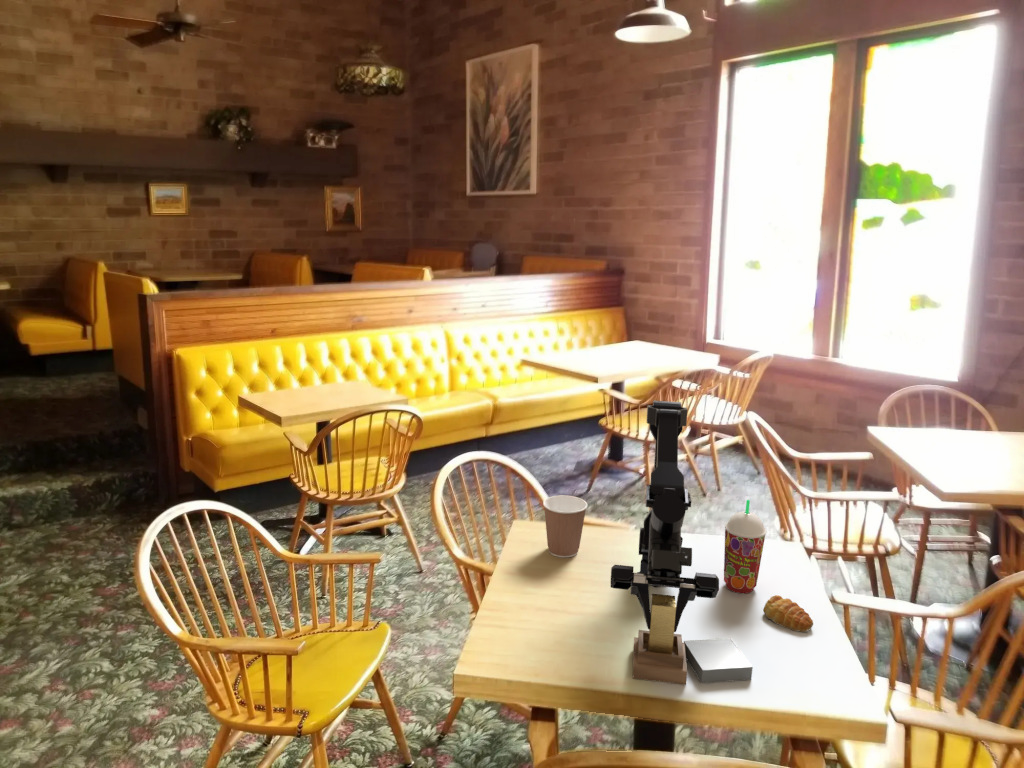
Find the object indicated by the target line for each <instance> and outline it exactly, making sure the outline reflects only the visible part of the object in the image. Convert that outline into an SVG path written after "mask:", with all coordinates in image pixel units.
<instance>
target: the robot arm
mask: <svg viewBox="0 0 1024 768" xmlns="http://www.w3.org/2000/svg"><path fill="white" fill-rule="evenodd" d="M646 407H647V408H646V424H648V425H649V427H648V428H649V432H650V434H651V436H652V437H653V439H654V443H655V446H654V449H655V450H654V462H653V463H654V466H653V471H652V472H651V474H650V481H649V484H646V488H645V507H646V508H651V509H650V510H649V512H648V513H647V514H646V516H645V517H644V519H643V527H639V528H640V529H639V538H638V556H641V559H640V565H639V567H640V569H639V571H637V572H634V568H635V567H634V566H633V565H622V564H614V565H613V566H612V567H611V570H610V588H612V589H617V590H624V591H625V590H629V589H630V594H631V595H632V596H636V598H637V600H638V603H639V605H640V607H641V610H642V613H643V617H644V620H645V623H646V628H647V629H648V630H649V629H650V626H651V603H650V587H649V586H652V587H655V588H658V587H665V588H675V589H678V593H677V599H676V613H675V626H674V633H676V632H677V629H678V626H679V623H680V620H681V618H682V614H683V612H684V610H685V608H686V606H687V604H688V602H690V601H691V602H693V601H695V598H705V599H716V597H717V595H718V593H719V590H720V579H719V577H718V575H717V574H715V573H708V572H707V573H704V572H695V574H694V577H693V578H692V577H684V576H683V577H682V576H681V575H682V571H683V566H684V567H692V565H693V548H692V547H686V546H682V545H683V539H684V538H683V537H682V536H681V535H682V533H681V532H682V527H683V524H684V520H685V515H686V511H688V510H689V508H692V497H691V493H690V492H689V489H688V487H685V476H684V474H683V473H682V471H681V470H680V469H679V468H678V467H679V465H678V463H679V461H678V460H679V459H678V458H679V457H678V455H679V436H680V435H681V433H682V432H683V428H684V427H687V423H688V421H687V420H688V408H687V407H682V402H681V401H669V400H666V401H665V400H653V401H652V405H649V404H648V405H646Z"/></svg>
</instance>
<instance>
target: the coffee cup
mask: <svg viewBox="0 0 1024 768" xmlns="http://www.w3.org/2000/svg"><path fill="white" fill-rule="evenodd" d="M542 504H543V507H544V517H545V519H544V520H545V531H546V540H547V548H548V552H549V553H550V554H551V556H554V557H558V558H571V557H574V556H576V555H577V554H578V553H579V549H580V545H581V540H582V534H583V527H584V523H585V522H584V521H585V516H586V510H587V508H588V502H586V501H585V500H584V499H582V498H580V497H576V496H573V495H567V494H566V495H559V494H558V495H553V496H549V497H546V498H545V499H544V500H543V501H542Z"/></svg>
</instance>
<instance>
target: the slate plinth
mask: <svg viewBox="0 0 1024 768" xmlns="http://www.w3.org/2000/svg"><path fill="white" fill-rule="evenodd" d="M683 643H685V654H686V662H688V664H689V665H690V667H691V669H692V670H693V672H694V673H695V675H696V677H697V678H698V679H699V681H700V682H701V684H708V683H720V682H722V683H723V682H736V681H750V680H751V681H752V677H753V676H752V674H753V665H752V664H751V663H750V662H749V660H748V659H747V658H746V656H745V655H744V654H743V652H742V651H741V649H740V648H739V647H738V646H737V644H736V643H735V642H734V641H733V639H732V638H731V637H727V638H726V637H723V638H709V639H706V638H705V639H695V640H694V639H693V640H683Z"/></svg>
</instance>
